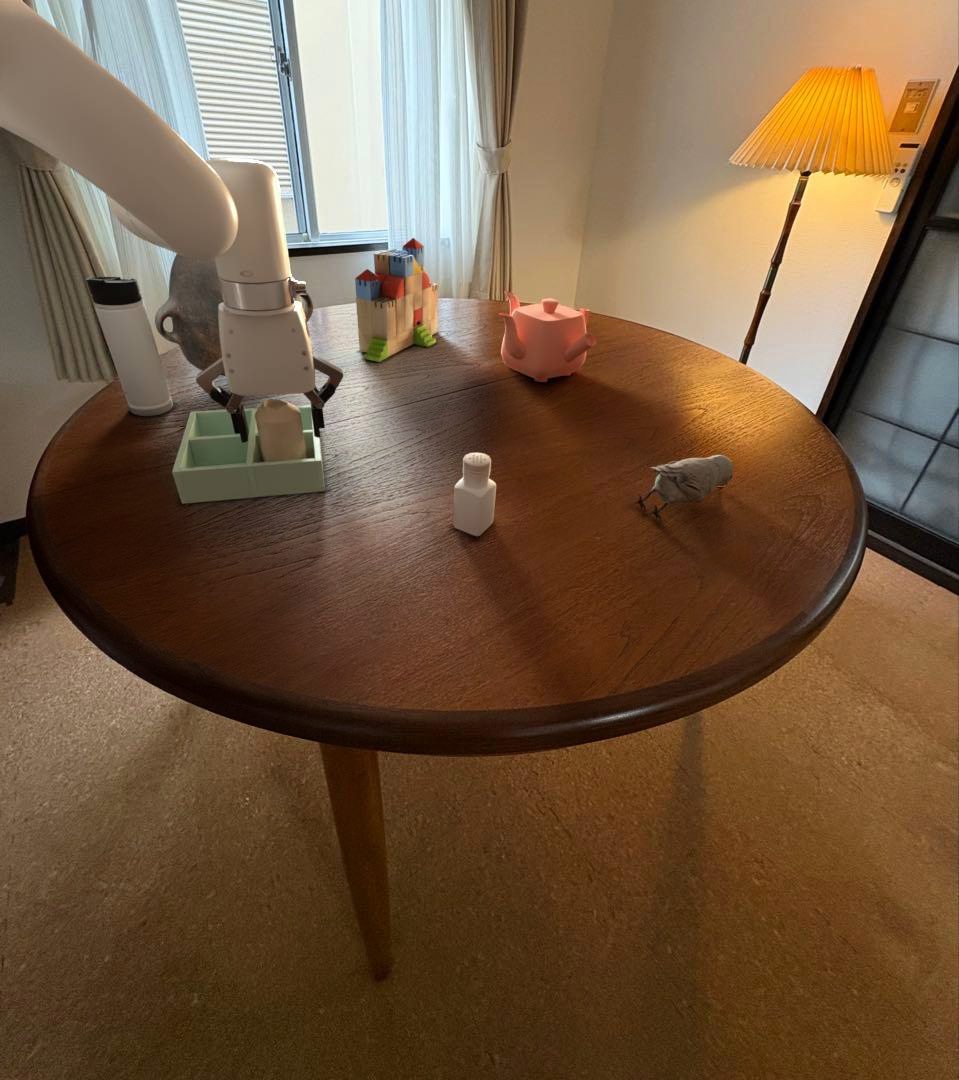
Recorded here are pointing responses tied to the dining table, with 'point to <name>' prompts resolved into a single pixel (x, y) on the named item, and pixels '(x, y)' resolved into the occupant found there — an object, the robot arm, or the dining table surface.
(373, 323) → the block set
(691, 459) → the decorative bird
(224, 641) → the dining table surface
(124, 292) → the travel mug
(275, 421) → the candle
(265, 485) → the grid
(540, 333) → the teapot
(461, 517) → the salt shaker
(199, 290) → the jug
